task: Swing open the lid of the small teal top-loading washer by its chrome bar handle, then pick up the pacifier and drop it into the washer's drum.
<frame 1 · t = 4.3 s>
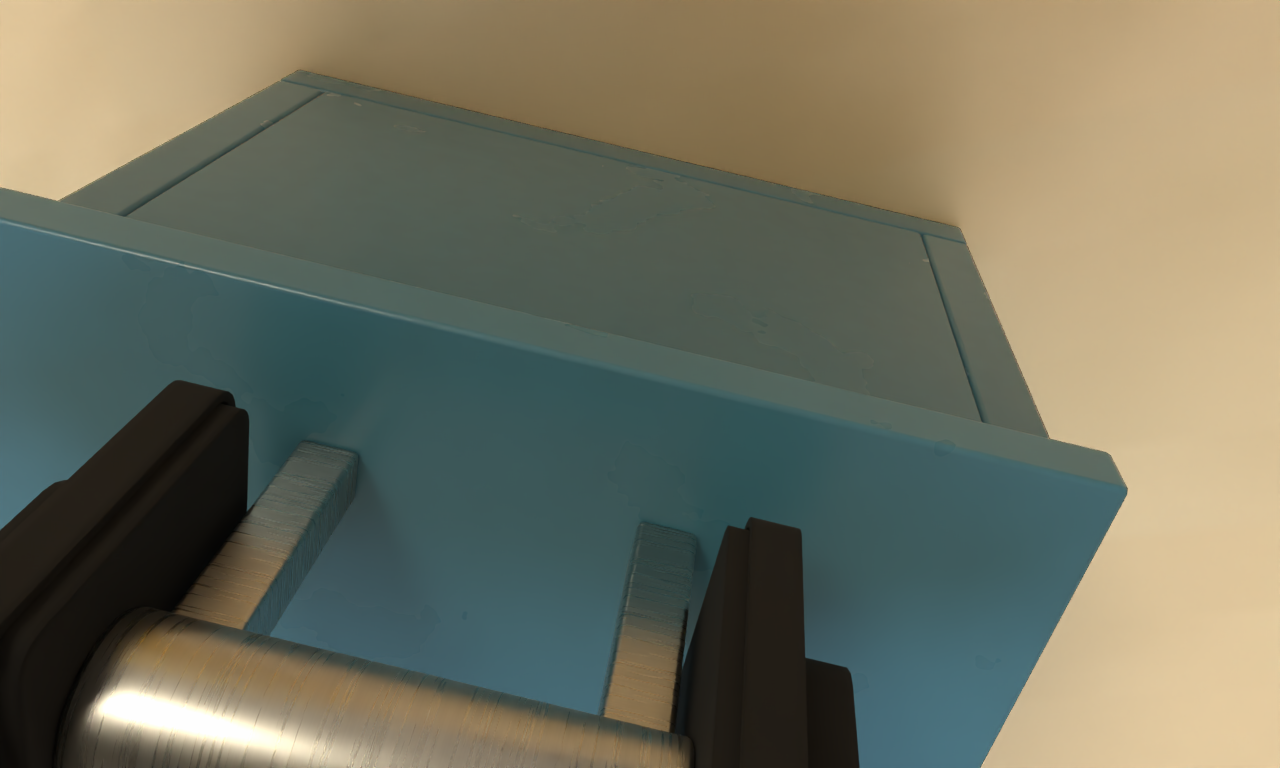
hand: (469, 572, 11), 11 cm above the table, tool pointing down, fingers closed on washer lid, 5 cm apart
washer: (567, 447, 24), on the table
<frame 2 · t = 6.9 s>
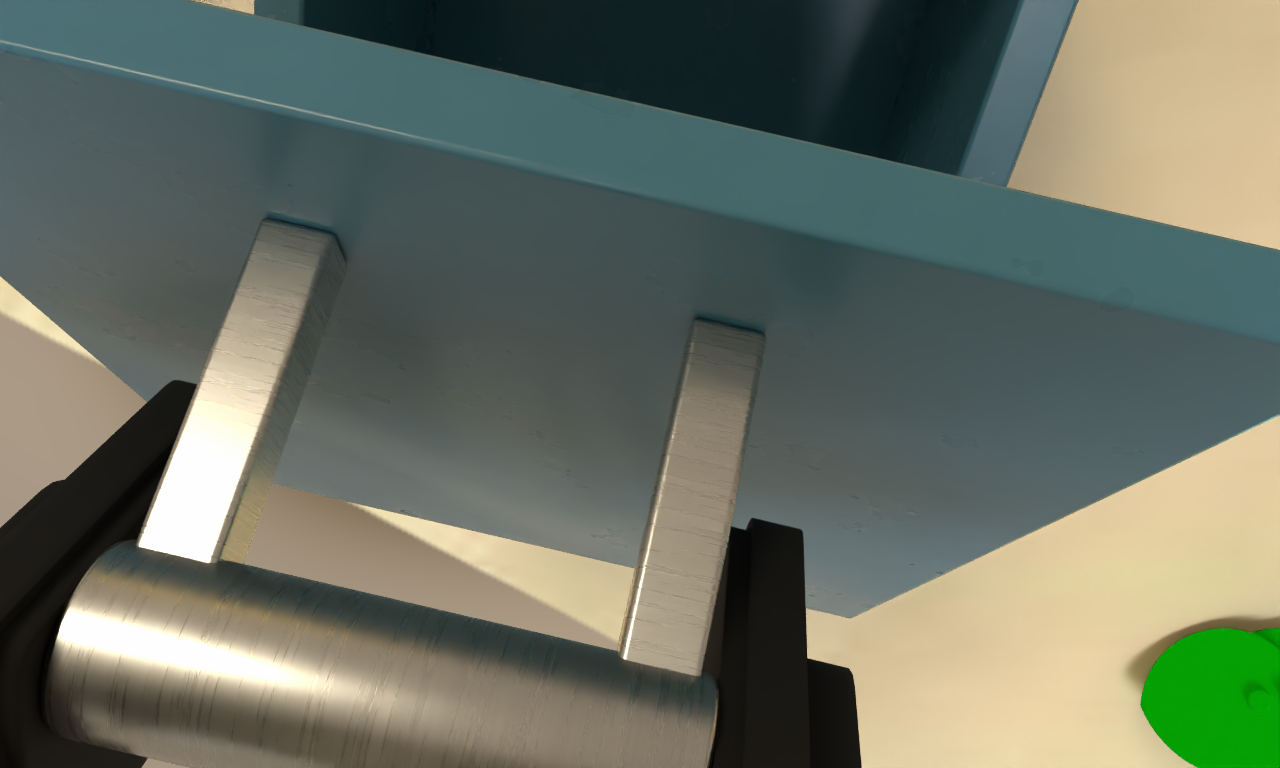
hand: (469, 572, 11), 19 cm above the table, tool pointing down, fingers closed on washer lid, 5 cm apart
washer: (660, 84, 27), on the table
washer lid: (496, 579, 14), point 17 cm above the table, hinge at 41.0°, touching gripper
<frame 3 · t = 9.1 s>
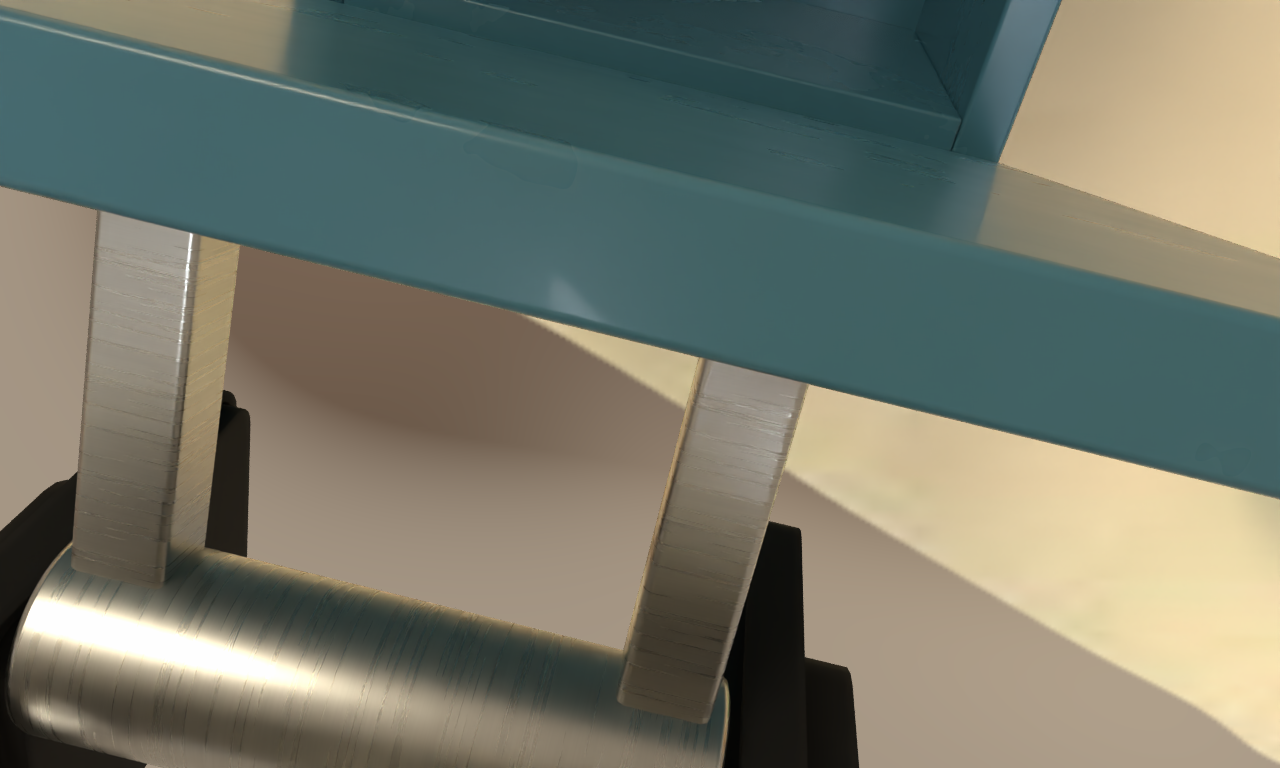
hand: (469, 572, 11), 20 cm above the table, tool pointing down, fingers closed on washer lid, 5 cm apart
washer lid: (548, 311, 13), point 18 cm above the table, hinge at 77.4°, touching gripper
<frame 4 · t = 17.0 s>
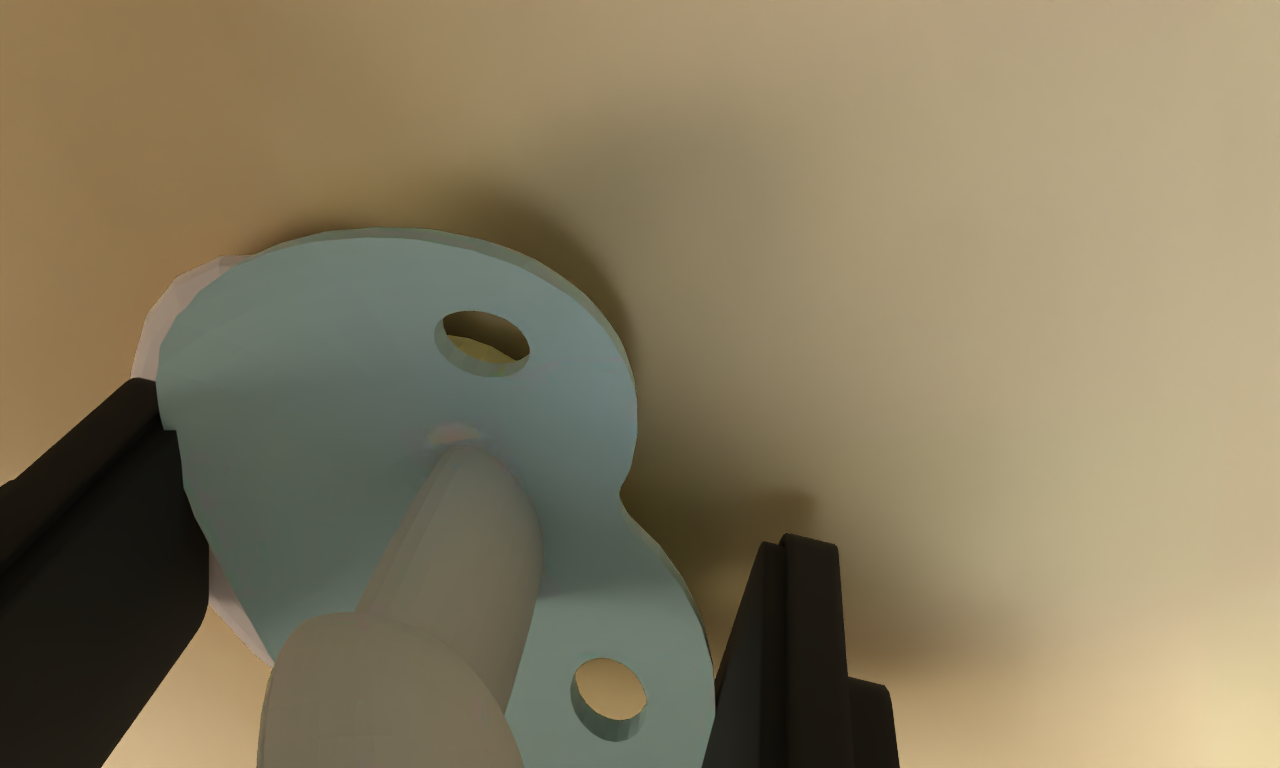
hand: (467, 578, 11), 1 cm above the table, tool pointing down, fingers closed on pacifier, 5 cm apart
pacifier: (432, 473, 12), on the table, touching gripper
when the fingers open (9 cm above the table, at t = 26.7 s): pacifier drops 7 cm, resting on washer.
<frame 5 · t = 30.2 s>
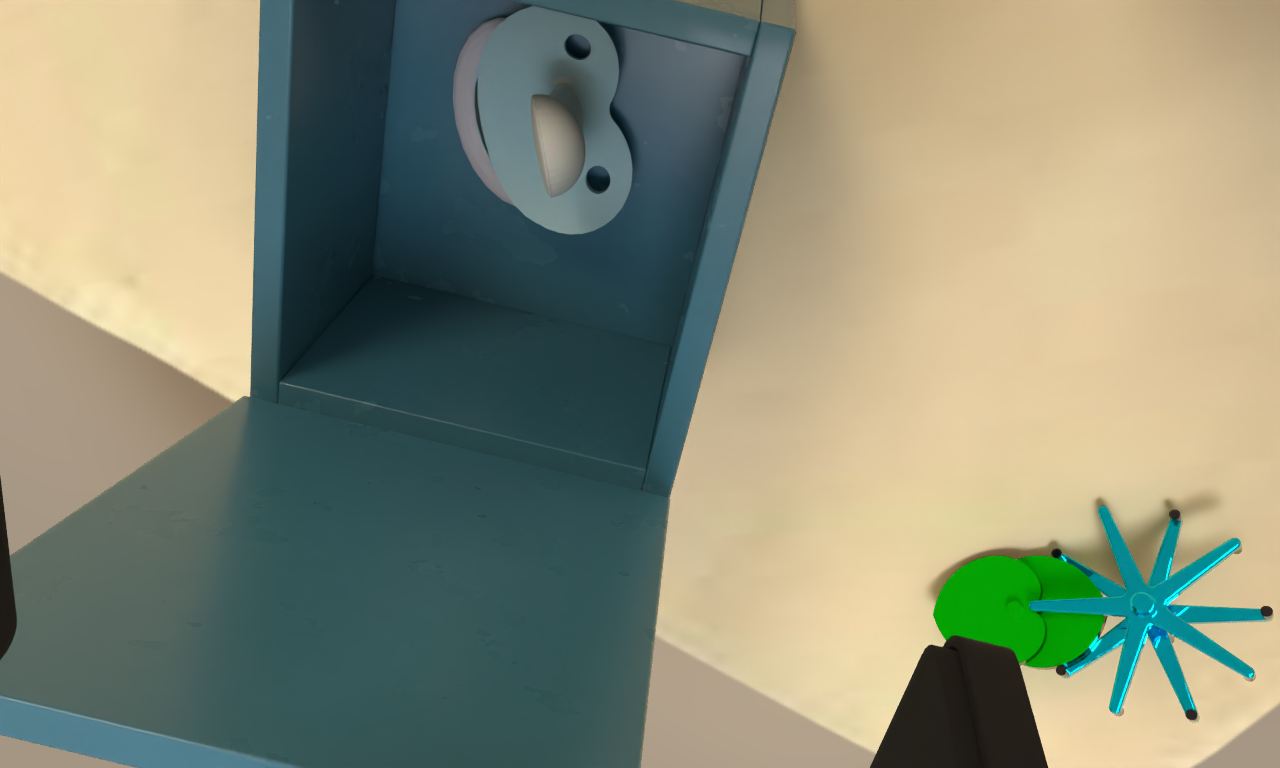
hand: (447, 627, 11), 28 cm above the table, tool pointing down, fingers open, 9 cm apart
washer: (553, 142, 37), on the table
stick construction toy: (1084, 582, 44), on the table
pacifier: (545, 108, 36), point 1 cm above the table, touching washer
washer lid: (364, 653, 25), point 18 cm above the table, hinge at 77.6°
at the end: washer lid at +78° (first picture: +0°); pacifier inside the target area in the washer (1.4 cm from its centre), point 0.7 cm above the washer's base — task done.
